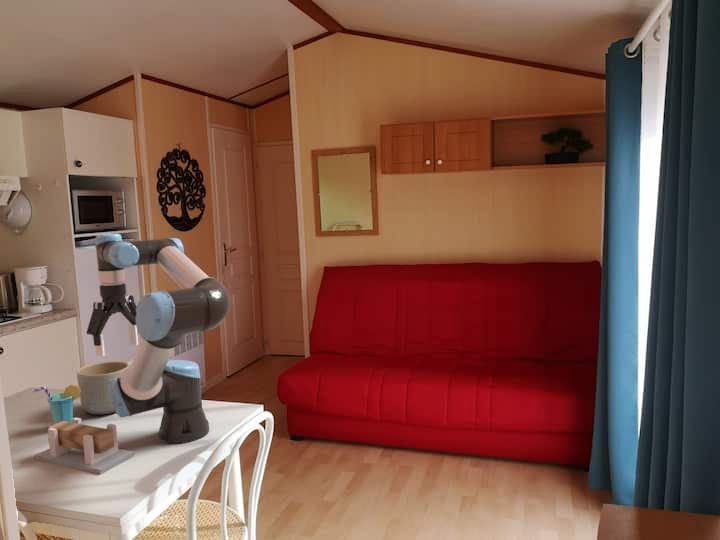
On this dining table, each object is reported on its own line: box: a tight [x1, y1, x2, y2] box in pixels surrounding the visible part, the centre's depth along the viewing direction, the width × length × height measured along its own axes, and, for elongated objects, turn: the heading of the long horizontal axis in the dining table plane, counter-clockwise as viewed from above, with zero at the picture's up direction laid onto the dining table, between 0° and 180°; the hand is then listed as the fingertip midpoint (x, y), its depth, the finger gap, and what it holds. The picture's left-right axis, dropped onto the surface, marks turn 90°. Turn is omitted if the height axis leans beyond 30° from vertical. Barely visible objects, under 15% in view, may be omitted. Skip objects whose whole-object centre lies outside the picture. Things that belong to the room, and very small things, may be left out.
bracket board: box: [34, 417, 135, 475], centre depth 168 cm, size 26×12×9 cm, turn 66°
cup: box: [31, 384, 81, 425], centre depth 190 cm, size 14×8×15 cm, turn 120°
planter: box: [76, 360, 130, 416], centre depth 206 cm, size 17×17×15 cm
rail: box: [48, 421, 114, 454], centre depth 168 cm, size 20×5×5 cm, turn 66°
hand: (118, 350), depth 184 cm, fingers open, 13 cm apart
